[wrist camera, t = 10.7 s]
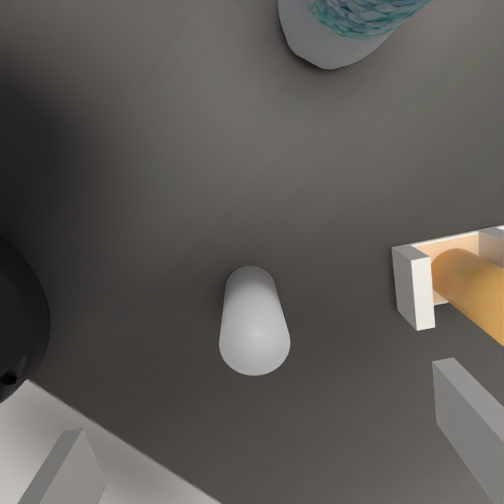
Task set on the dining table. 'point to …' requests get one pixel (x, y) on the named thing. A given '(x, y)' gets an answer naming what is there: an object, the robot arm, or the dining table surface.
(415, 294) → the rack
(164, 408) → the dining table surface
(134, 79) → the dining table surface
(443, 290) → the orange plug
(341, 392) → the dining table surface
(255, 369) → the grey plug
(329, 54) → the bottle
